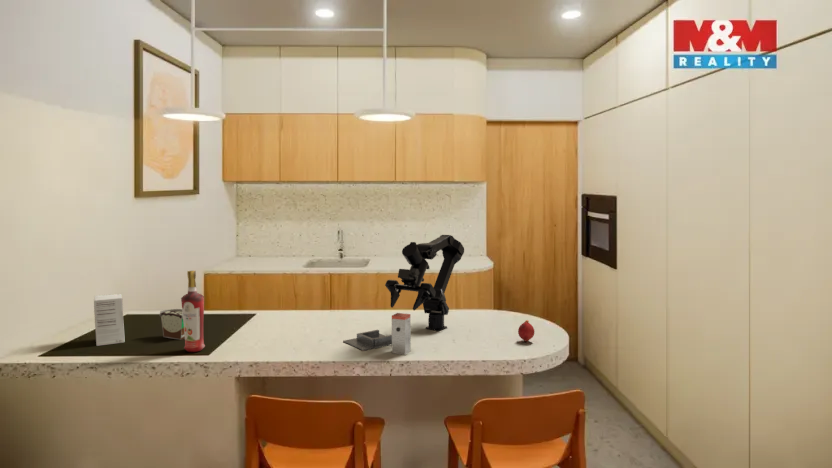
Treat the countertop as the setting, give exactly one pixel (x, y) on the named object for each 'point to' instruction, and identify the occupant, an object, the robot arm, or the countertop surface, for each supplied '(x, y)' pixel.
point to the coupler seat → (369, 340)
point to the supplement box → (109, 319)
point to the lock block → (401, 333)
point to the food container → (172, 323)
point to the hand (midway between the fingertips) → (402, 308)
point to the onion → (526, 331)
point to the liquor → (193, 316)
